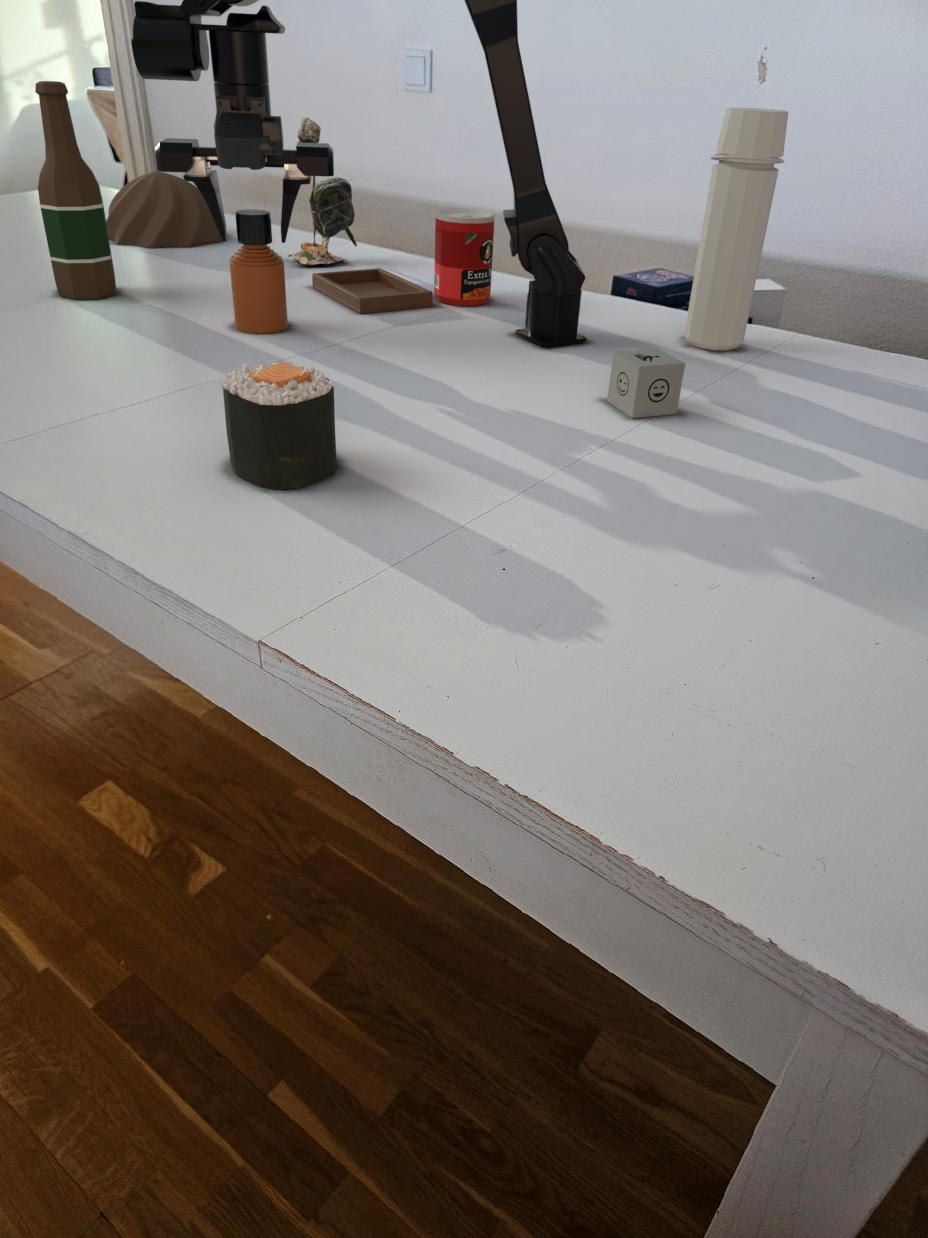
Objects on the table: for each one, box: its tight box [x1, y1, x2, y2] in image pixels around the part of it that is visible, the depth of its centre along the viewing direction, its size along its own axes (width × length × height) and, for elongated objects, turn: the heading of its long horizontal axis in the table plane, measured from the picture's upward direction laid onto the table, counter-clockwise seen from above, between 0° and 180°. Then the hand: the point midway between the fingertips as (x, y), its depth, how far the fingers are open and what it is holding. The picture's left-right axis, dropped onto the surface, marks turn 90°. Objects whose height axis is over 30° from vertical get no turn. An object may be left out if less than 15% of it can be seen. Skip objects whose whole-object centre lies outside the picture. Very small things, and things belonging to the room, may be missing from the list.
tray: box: [311, 267, 433, 315], centre depth 123 cm, size 16×11×2 cm
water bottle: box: [683, 106, 789, 352], centre depth 104 cm, size 9×8×25 cm
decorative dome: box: [106, 170, 221, 249], centre depth 151 cm, size 19×20×10 cm
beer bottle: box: [34, 80, 117, 301], centre depth 112 cm, size 8×8×24 cm
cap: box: [234, 209, 273, 246], centre depth 102 cm, size 4×4×3 cm
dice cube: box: [606, 347, 686, 419], centre depth 88 cm, size 5×5×5 cm
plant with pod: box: [288, 117, 358, 266], centre depth 136 cm, size 8×11×20 cm
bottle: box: [228, 245, 289, 335], centre depth 105 cm, size 6×6×12 cm
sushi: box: [219, 361, 338, 490], centre depth 71 cm, size 8×8×8 cm
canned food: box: [433, 208, 495, 307], centre depth 121 cm, size 8×8×11 cm
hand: (254, 241), depth 103 cm, fingers open, 6 cm apart
